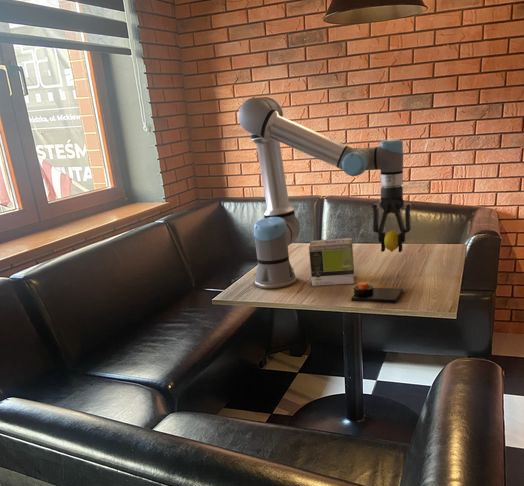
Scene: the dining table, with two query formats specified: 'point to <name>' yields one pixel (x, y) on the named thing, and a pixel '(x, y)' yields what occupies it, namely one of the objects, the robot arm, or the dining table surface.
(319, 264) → the tea box
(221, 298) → the dining table surface
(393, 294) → the scale
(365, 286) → the button
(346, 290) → the dining table surface
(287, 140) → the robot arm
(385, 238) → the lemon
